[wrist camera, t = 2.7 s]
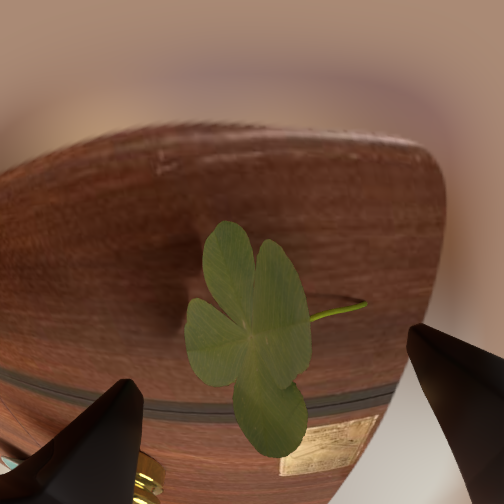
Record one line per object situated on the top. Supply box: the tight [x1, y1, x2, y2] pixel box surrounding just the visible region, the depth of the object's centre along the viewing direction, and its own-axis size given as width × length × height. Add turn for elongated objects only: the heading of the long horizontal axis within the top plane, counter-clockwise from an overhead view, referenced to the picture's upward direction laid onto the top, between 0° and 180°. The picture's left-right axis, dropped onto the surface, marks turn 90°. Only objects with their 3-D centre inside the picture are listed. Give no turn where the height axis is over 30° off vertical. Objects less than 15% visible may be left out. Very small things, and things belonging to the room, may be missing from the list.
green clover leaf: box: [184, 221, 367, 458], centre depth 9 cm, size 7×8×7 cm
